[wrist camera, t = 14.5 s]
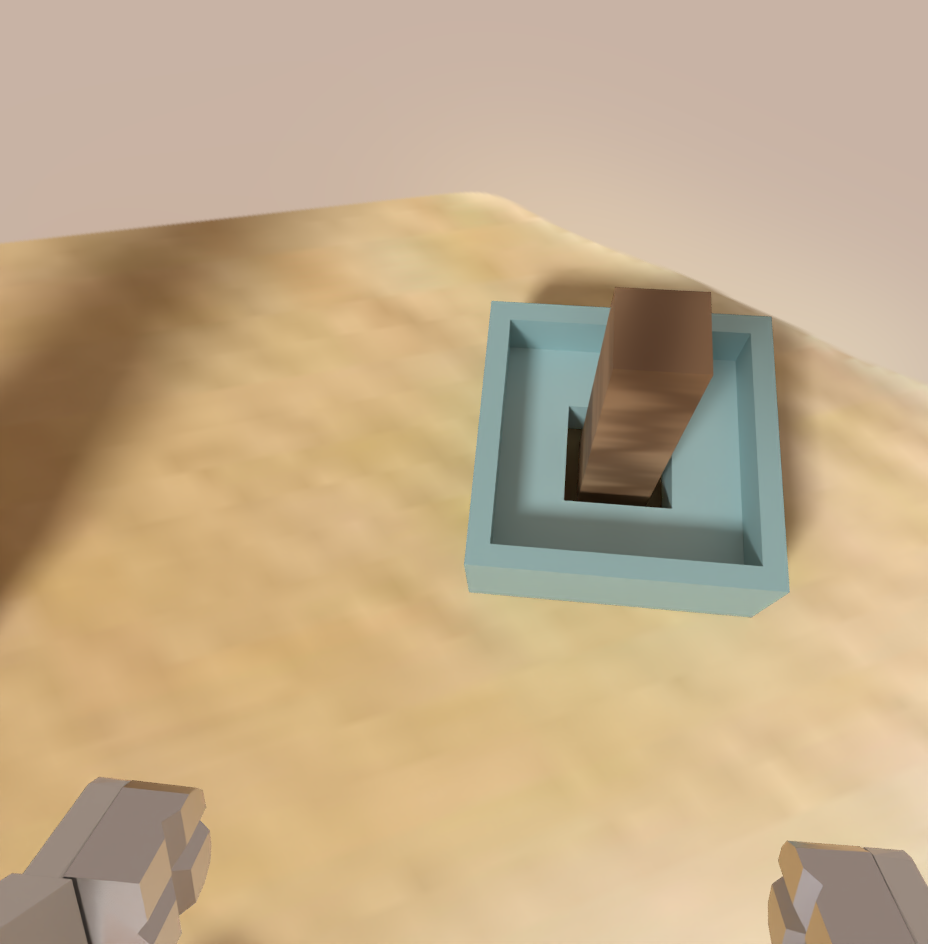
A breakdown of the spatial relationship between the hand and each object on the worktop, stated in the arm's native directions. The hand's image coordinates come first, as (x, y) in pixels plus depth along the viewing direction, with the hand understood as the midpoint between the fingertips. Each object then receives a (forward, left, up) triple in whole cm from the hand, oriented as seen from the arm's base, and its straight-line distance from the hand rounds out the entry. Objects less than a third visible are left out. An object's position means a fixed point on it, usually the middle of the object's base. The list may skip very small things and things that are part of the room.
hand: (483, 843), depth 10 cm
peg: (+5, +19, -31) cm, 37 cm away
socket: (+5, +19, -31) cm, 37 cm away
